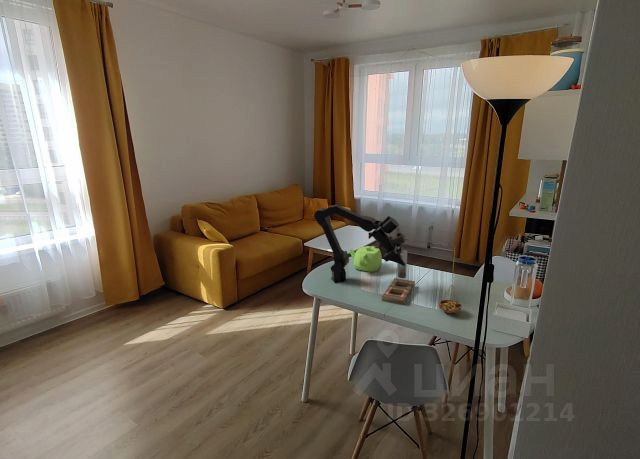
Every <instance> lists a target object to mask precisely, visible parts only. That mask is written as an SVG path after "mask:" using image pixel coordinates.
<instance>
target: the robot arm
mask: <svg viewBox="0 0 640 459" xmlns="http://www.w3.org/2000/svg"><path fill="white" fill-rule="evenodd" d="M334 214H335V215H338V216H339V217H341V218H344V219H346V220H348V221H350V222H352V223H354V224H356V225H357V226H358V227H359V228H360V229H362V230H364V232H368V233H367V234H368V239H372V238H374V240H375V241H376V242H377V243H378V244H379V248H382V249H383V250H384V251H385V254H384V256H383V260H384V261H385V262H386V263H387V262H389V261H391V262H394V263H395V264H397V265H398V264H400V265H403V266H405V263H404V261H403V260H402V258H401V257H400V256H399V250H403V246H402V245H403V244H405V243H406V237H405V234H403V233H401V232H397V234H396V236H394V237H392V235H391V236H390V235H388V234H391V233H393V232H394V231H395V230H396V229H397V228H398V227H400V225H399V222H398V221H397V219H395V218H393V217H391V216H390V215H388V216H387V217H386V218H384V220H383V221H381V220H376V219H375V218H374V217H372V216H371V217H370V216H367V215H361V214H359V213H357V212H354V211H352V210H349V209H348V208H347V207H346V208H345V207H343V206H341V205H340V204H334V205H332V206H329V207H327V208H325V207H322V208H319V209H317V210H316V211H315V212H314V214H313V219H315V221H316V223H317V224H318V225H319V226H320V227H321V228H322V230H323V233H324V236H325V237H326V240H327V242H328V244H329V247H330V249H331V251H332V253H333V254H332V256H333V258H332V259H333V262H334V263H333V264H332V265H331V266H330V267H329V268H330V271H331V277H330V280H332V282H333V283H335V284H338V283H344V282H347V271H346V269H345V267H346V266H347V265H348V264H349V262H350V256H349V254H348V250H343V249H342V247H341V244H340V243H339V240H338V238H337V235H336V233H335V230H334V228H333V227H332V224H331V216H333V215H334Z"/></svg>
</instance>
